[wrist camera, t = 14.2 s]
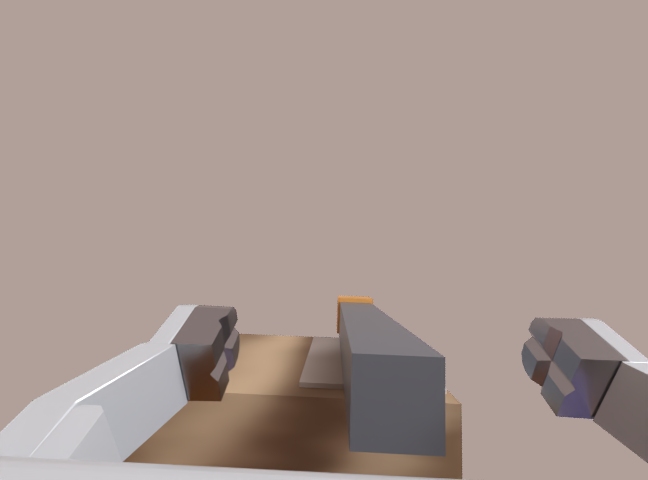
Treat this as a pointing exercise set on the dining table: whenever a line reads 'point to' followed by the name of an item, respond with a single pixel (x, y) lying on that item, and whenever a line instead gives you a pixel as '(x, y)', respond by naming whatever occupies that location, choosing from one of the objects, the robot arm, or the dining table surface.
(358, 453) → the wood grain block
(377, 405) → the marker
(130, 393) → the robot arm
